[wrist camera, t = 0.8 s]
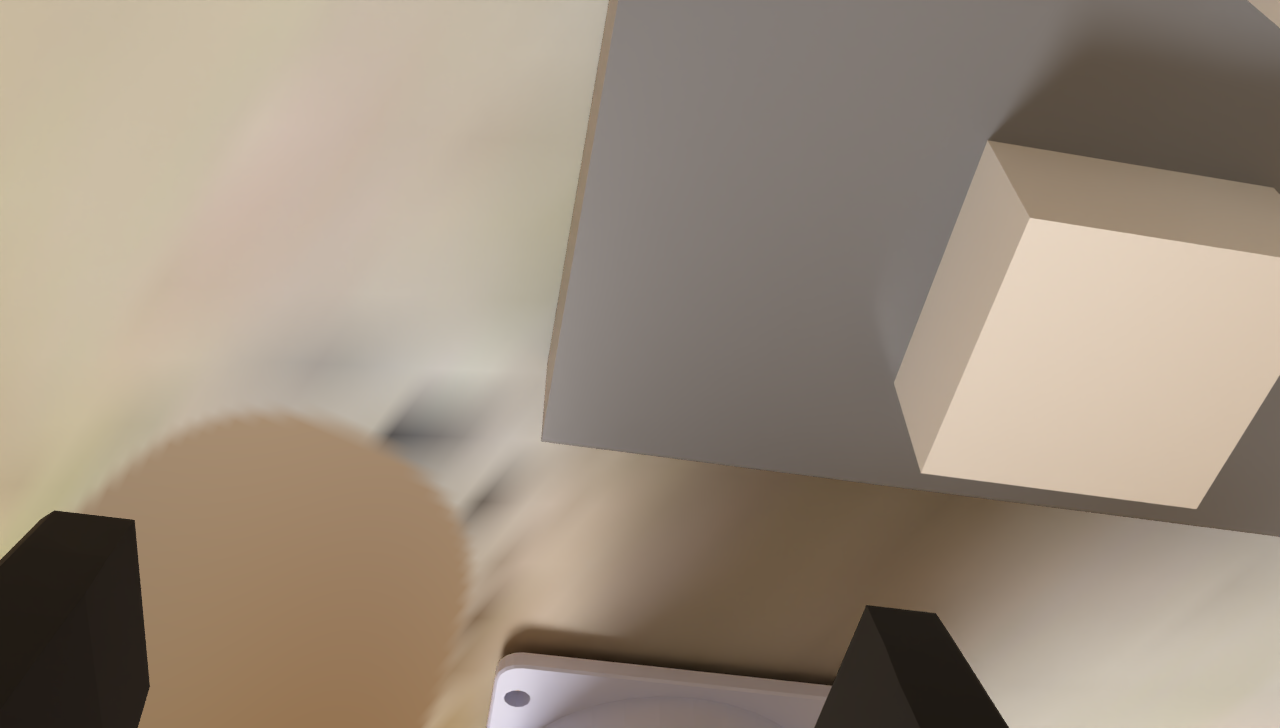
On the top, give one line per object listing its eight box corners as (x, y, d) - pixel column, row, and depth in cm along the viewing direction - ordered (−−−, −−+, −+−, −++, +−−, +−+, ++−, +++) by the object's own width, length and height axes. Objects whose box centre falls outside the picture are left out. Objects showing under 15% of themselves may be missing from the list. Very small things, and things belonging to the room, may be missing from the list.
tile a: (1146, 417, 18) (1196, 509, 17) (894, 382, 18) (920, 472, 16) (1273, 187, 16) (1346, 267, 14) (987, 140, 16) (1028, 217, 14)
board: (1420, 482, 22) (1483, 563, 20) (547, 363, 20) (540, 441, 19) (2102, -417, 14) (2297, -401, 12) (738, -761, 12) (756, -795, 10)
